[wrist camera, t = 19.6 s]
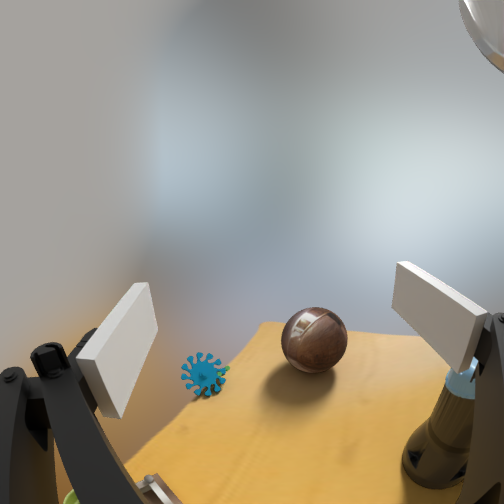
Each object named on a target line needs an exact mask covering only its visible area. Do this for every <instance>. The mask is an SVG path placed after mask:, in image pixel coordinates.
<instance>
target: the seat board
mask: <svg viewBox="0 0 504 504" xmlns="http://www.w3.org/2000/svg"><path fill="white" fill-rule="evenodd" d="M135 484H136V485H137V487H138V488H139V489H140V491H141V492H142V494H143V495H144V496H145V498H146V499H147V500H148V502H149V503H150V504H183V503H182V502H181V501H180V500H179V499H178V498H177V496H176V495H175V494H174V493H173V492H172V491H171V490H170V488H169V487H168V486H167V485H166V484H165V482H164V481H163V480H162V479H161V477H160V476H159V475H158V474H157V473H156V474H154V475H152V476H151V475H146V476H145V477H144V480H142V481H140V482H137V483H135Z"/></svg>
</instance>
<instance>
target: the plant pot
mask: <svg viewBox="0 0 504 504" xmlns="http://www.w3.org/2000/svg"><path fill="white" fill-rule="evenodd" d="M63 504H80V502H79V500H78V498H77V496H76V494H75V492H74V489H73V490H72V491H71V492H70V493H69V494H68V495H67V496H66V497H65V500H64V503H63Z"/></svg>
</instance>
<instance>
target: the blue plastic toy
mask: <svg viewBox="0 0 504 504" xmlns="http://www.w3.org/2000/svg"><path fill="white" fill-rule="evenodd" d="M202 356H203V354H202V353H199V352H198V353H197V359H198V360H197V363H196V364H194V363H193V356H190V357H188V358H187V360H188V361H189V362H190V363H191V366H192V369H191V370H190V369H188V366H187V364H183V366H182V367H181V368H182V369H183V370H186V371H188V372H189V373H190V374H191V377H188V376H187V375H186V374H182V376H181V379H182V380H185V379H190V380H192V381H193V382H194V383H193V384H189V383H187V384H186V388H187V389H190V388H191V387H192V386H195V385H199V386H200V389H197V390H195V391H194V393H195V394H196V395H200V393H201V390H202V388H203V387H207V388H208V390H207V391H206V392H205V395H206V396H210V395H211V391H210V386H211V384H214V385H215V387H214V391H215V392H217V391H220V390H221V388H220V387H219V386H218V385H217V384H216V379H219V381H220V383H221V384H224V383H225V381H226V379H225V378H221V377H220V376H223V375H225V373H226V371H228V370H229V369H230V367H229V366H226V367H225V368H222V369H217V368H214V364H216V365H220V364H221V361H220V359H217V360H216V361H215V362H213V363H208V361H207V360H209V359H212V358H213V355H212V354H210V353H209V354H207V357H206V360H205V361H203V362H201V361H200V358H201V357H202Z"/></svg>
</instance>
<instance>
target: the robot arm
mask: <svg viewBox="0 0 504 504" xmlns="http://www.w3.org/2000/svg"><path fill="white" fill-rule="evenodd" d="M459 7H460V12H461V16H462V19H463V22H464V24H465V27H466V29H467V31H468V33H469V34H470V36H471V38H472V39H473V41H474V43H475V44H476V46H477V47H478V48H479V50H480V51H481V53H482V54H483V55H484V56H485V57H486V58H487V59H488V60H489V62H490V63H491V64H492V65H494V66H495V67H496V68H497V69H498V70H500V71H501V72H502V73H504V0H459ZM392 308H393V309H394V310H395V311H396V312H397V313H398V314H399V315H400V316H401V317H402V318H403V319H404V320H405V321H406V322H407V323H408V324H409V325H410V326H411V327H412V328H413V329H414V330H415V331H416V332H417V333H418V334H419V335H420V336H421V337H422V338H423V339H424V340H425V341H426V342H427V343H428V344H429V345H430V346H431V347H432V348H433V349H434V350H435V351H436V352H437V353H438V354H439V355H440V356H441V357H442V358H443V359H444V360H445V361H446V362H447V364H448V365H449V366H450V367H451V369H450V370H449V372H448V373H447V376H446V379H445V380H446V381H445V385H444V387H443V390H442V392H441V394H440V397H439V399H438V401H437V403H436V405H435V408H434V410H433V412H432V414H431V416H430V417H429V418H428V419H427V420H426V421H425V422H424V423H423V424H422V425H421V426H420V427H418V428H417V429H416V430H415V431H414V432H413V434H412V435H411V436H410V438H409V440H408V442H407V444H406V446H405V448H404V451H403V465H404V468H405V471H406V472H407V474H408V475H409V477H410V478H411V479H412V480H413V481H414V482H416V483H417V484H419V485H421V486H423V487H426V488H430V489H444V488H449V487H452V486H454V485H456V484H458V483H460V482H461V481H462V480H464V483H463V487H462V491H461V494H460V496H459V498H458V500H457V502H456V503H455V504H504V313H496V314H494V315H491V314H490V313H488V312H487V311H486V310H484V309H482V308H481V307H480V306H478V305H477V304H476V303H474V302H473V301H471V300H469V299H468V298H466V297H465V296H463V295H462V294H460V293H459V292H457V291H455V290H454V289H453V288H451V287H449V286H448V285H446V284H445V283H443V282H442V281H440V280H438V279H437V278H435V277H433V276H432V275H430V274H429V273H427V272H425V271H424V270H422V269H420V268H419V267H417V266H415V265H414V264H412V263H410V262H409V261H404V262H397V267H396V276H395V285H394V293H393V300H392ZM157 331H158V327H157V323H156V318H155V314H154V309H153V304H152V299H151V294H150V289H149V284H148V282H147V283H134V284H133V286H132V287H131V288H130V289H129V290H128V292H127V293H126V294H125V295H124V296H123V298H122V299H121V300H120V301H119V303H118V304H117V305H116V306H115V308H114V309H113V310H112V311H111V313H110V314H109V315H108V316H107V318H106V319H105V320H104V321H103V323H102V324H101V325H100V326H99V328H94V329H92V330H91V331H89V332H88V333H86V334H85V335H84V337H83V338H82V339H81V341H80V342H79V343H78V344H77V345H76V347H75V348H74V349H73V351H72V352H71V353H70V354H69V356H68V357H67V356H66V354H65V351H64V349H63V347H62V345H61V344H59V343H55V342H51V343H46V344H43V345H41V346H39V347H37V348H36V349H35V350H34V351H33V352H32V353H31V356H30V358H31V361H32V363H33V365H34V367H35V369H36V371H37V373H38V375H39V377H30V378H27V376H26V374H25V372H24V370H23V369H22V368H20V367H11V368H7V369H5V370H4V371H3V372H2V373H1V374H0V504H59V502H58V494H57V487H56V475H55V461H54V438H55V442H56V445H57V448H58V451H59V454H60V457H61V459H62V462H63V465H64V467H65V470H66V473H67V475H68V477H69V480H70V482H71V485H72V487H73V489H74V492H75V494H76V496H77V498H78V500H79V502H80V504H150V503H149V502H148V500H147V499H146V498H145V496H144V495H143V494H142V492H141V491H140V489H139V488H138V487H137V485H136V484H135V482H134V481H133V479H132V478H131V476H130V475H129V473H128V472H127V470H126V469H125V467H124V466H123V464H122V462H121V461H120V459H119V458H118V456H117V454H116V452H115V451H114V449H113V447H112V446H111V444H110V442H109V440H108V439H107V437H106V435H105V433H104V431H103V429H102V428H101V425H100V423H99V422H98V420H97V418H96V416H95V414H94V412H95V410H96V408H97V406H98V408H99V410H100V411H101V413H102V415H103V416H104V417H109V418H117V419H121V418H122V415H123V413H124V410H125V408H126V405H127V402H128V400H129V398H130V395H131V393H132V390H133V388H134V385H135V383H136V380H137V378H138V375H139V373H140V371H141V368H142V366H143V364H144V361H145V359H146V357H147V354H148V352H149V349H150V347H151V345H152V343H153V340H154V338H155V336H156V333H157Z"/></svg>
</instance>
